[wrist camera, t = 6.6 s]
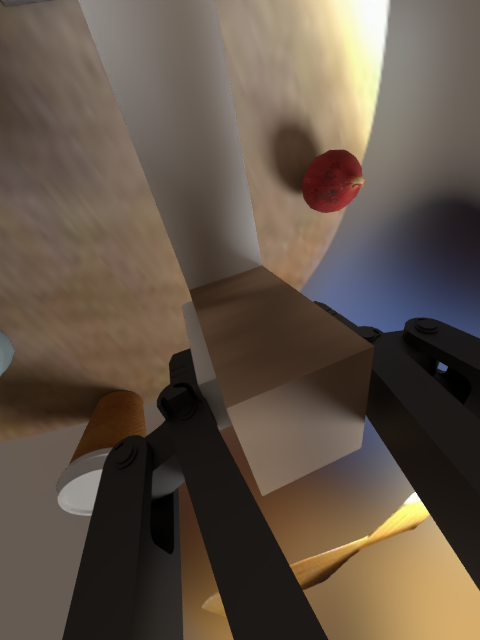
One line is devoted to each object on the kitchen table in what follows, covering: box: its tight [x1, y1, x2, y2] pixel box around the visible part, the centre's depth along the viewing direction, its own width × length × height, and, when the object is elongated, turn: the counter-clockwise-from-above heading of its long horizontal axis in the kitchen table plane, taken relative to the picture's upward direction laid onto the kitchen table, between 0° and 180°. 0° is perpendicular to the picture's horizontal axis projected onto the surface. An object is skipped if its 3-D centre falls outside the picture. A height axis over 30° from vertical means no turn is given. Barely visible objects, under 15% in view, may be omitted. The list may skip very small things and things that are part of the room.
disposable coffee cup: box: [56, 391, 146, 515], centre depth 30 cm, size 10×10×12 cm
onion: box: [302, 150, 365, 213], centre depth 24 cm, size 6×6×8 cm
